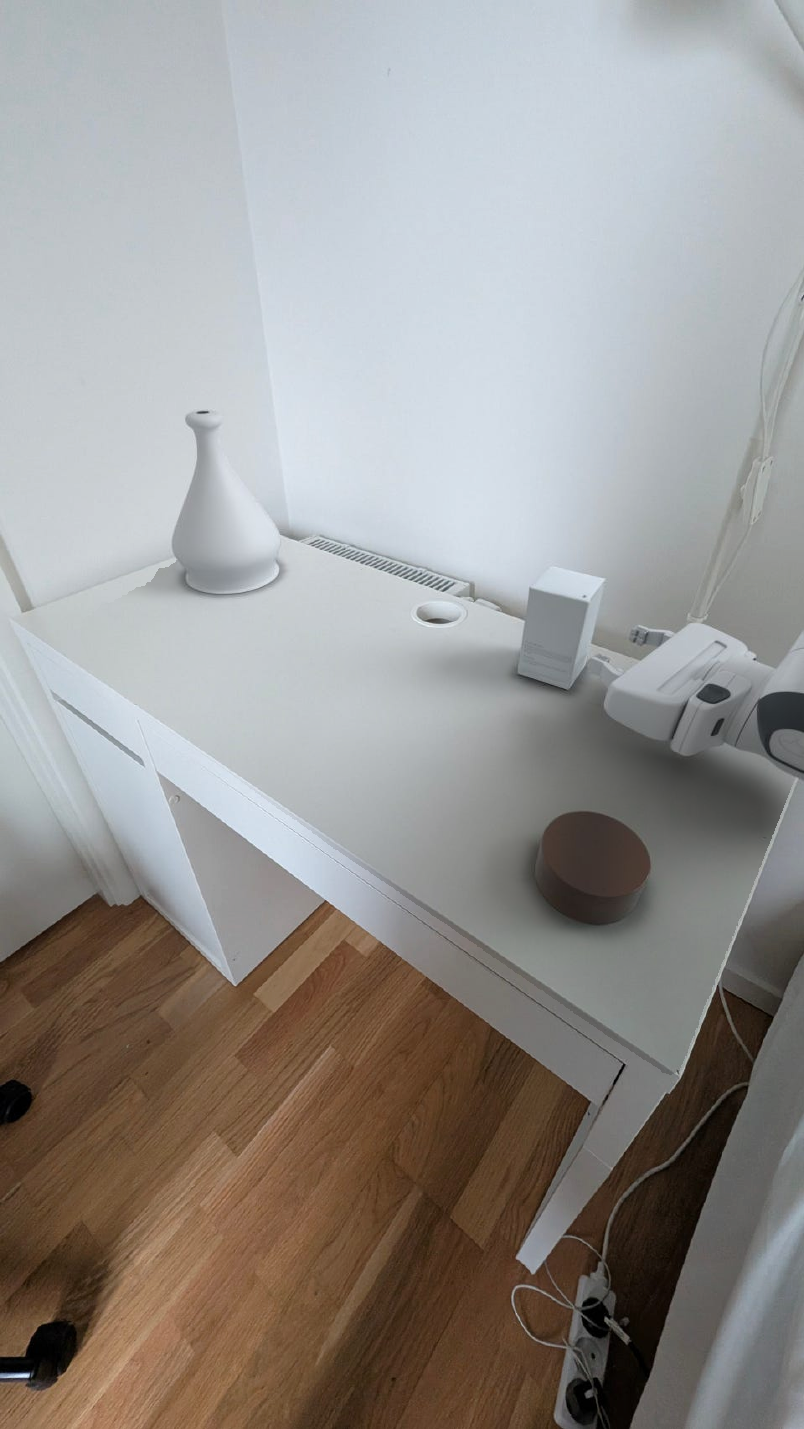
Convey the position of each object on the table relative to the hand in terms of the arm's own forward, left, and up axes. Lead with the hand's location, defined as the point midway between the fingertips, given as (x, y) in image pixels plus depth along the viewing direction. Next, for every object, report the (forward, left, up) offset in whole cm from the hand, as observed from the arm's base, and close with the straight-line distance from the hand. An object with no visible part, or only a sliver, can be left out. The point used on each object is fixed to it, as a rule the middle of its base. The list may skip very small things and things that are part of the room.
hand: (612, 646), depth 69 cm
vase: (+63, -11, -7) cm, 64 cm away
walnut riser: (-2, +29, -7) cm, 30 cm away
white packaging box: (+7, -3, -7) cm, 10 cm away
